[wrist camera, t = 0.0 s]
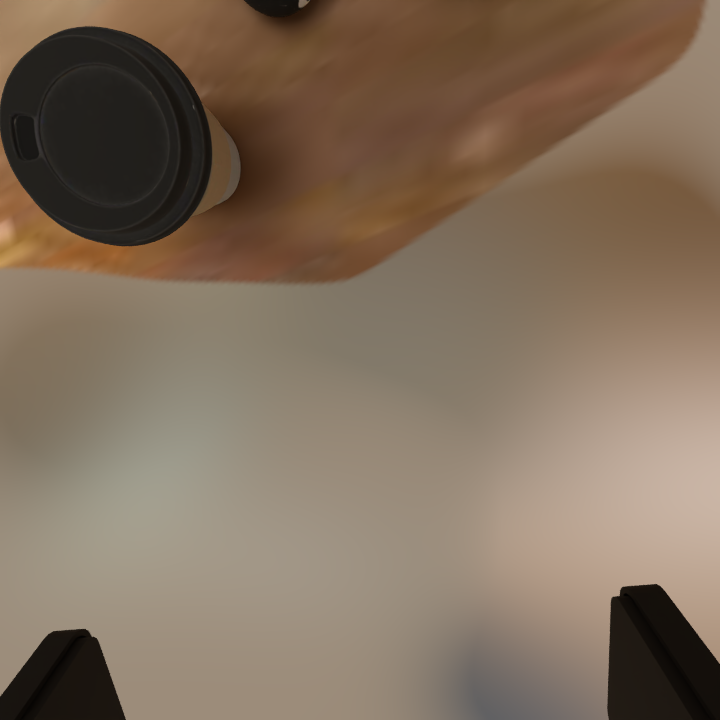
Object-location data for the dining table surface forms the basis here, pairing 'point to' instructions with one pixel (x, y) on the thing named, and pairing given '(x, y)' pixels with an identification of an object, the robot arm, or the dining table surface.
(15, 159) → the coffee cup
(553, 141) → the dining table surface
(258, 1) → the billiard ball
